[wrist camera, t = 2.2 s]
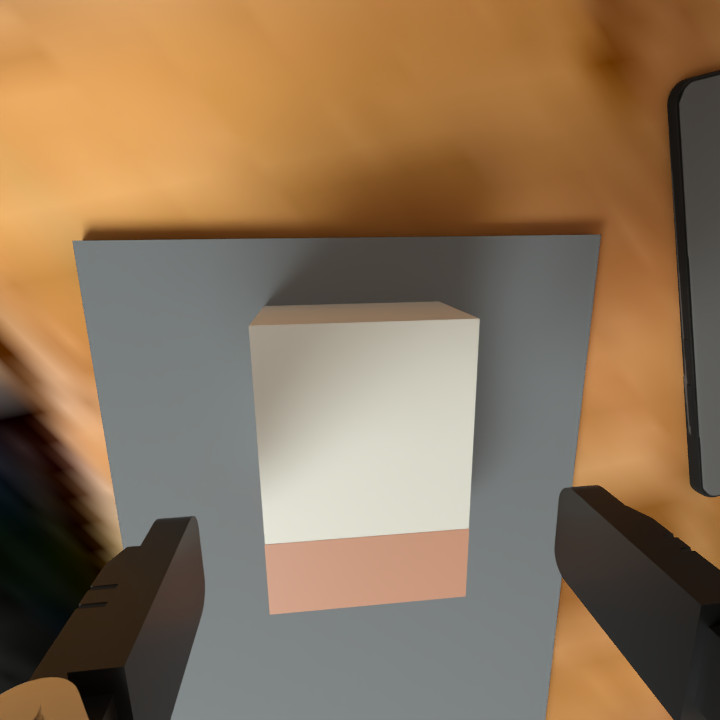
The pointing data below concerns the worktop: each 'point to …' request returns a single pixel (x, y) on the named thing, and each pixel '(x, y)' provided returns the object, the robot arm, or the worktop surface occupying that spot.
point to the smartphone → (698, 266)
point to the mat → (242, 477)
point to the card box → (364, 451)
